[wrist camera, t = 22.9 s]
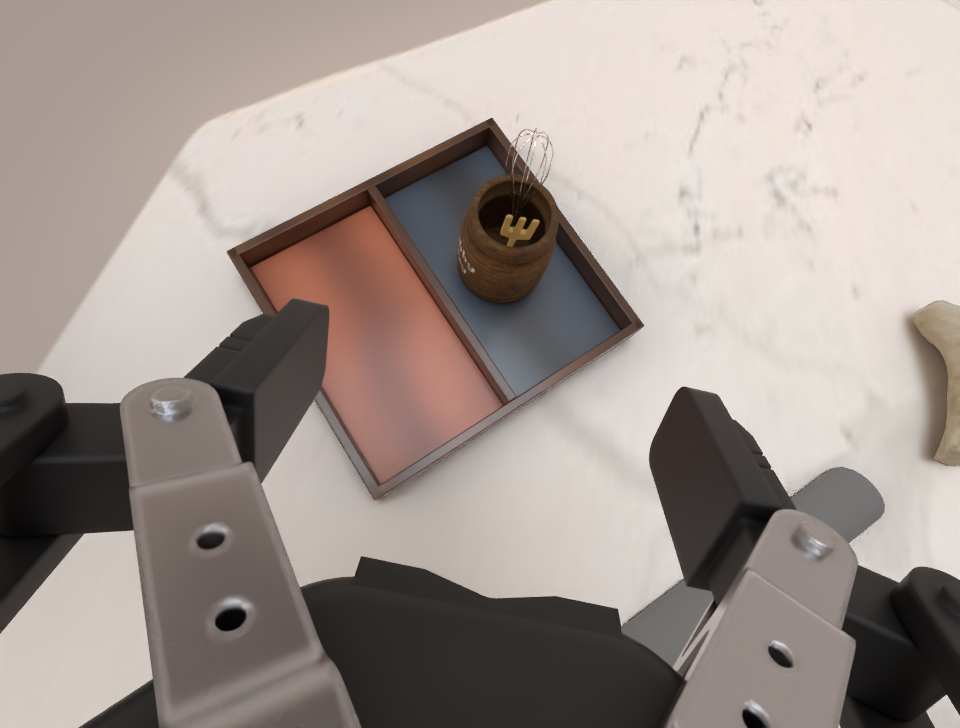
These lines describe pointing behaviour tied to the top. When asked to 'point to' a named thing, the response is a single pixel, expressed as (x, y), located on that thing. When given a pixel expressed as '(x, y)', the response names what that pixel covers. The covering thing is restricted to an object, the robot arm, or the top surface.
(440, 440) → the sorting tray
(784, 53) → the top surface
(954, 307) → the stone
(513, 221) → the utensil holder
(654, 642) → the half round rod
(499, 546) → the top surface
